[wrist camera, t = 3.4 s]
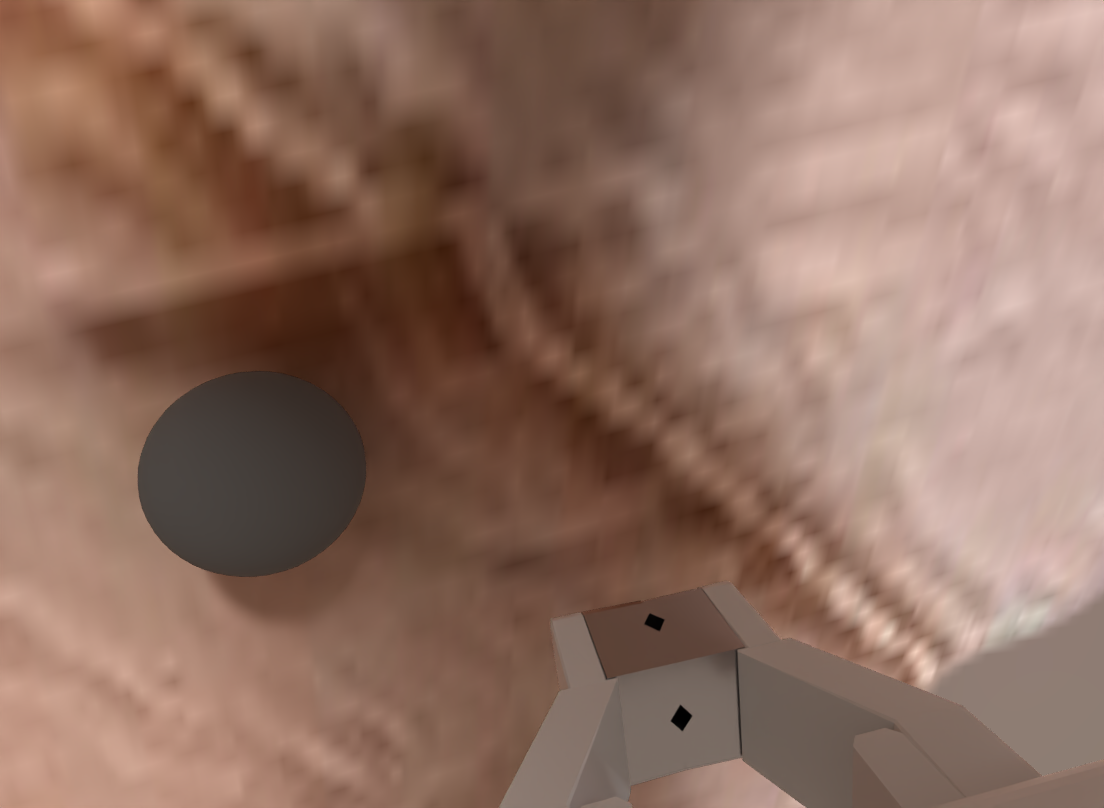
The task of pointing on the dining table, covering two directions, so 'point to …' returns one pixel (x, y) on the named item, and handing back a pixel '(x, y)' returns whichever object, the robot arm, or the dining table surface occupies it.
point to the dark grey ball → (251, 474)
